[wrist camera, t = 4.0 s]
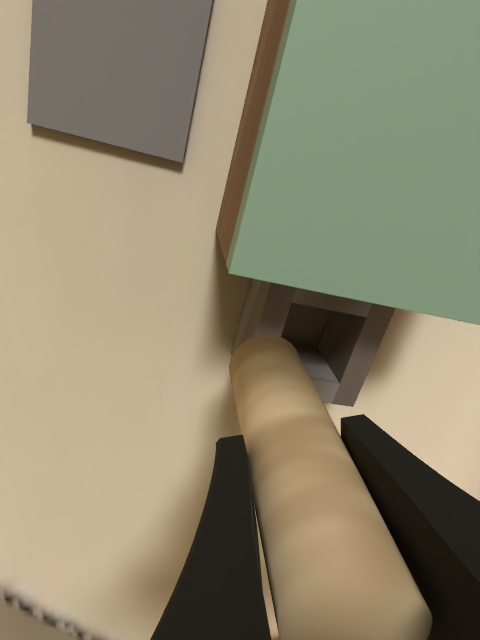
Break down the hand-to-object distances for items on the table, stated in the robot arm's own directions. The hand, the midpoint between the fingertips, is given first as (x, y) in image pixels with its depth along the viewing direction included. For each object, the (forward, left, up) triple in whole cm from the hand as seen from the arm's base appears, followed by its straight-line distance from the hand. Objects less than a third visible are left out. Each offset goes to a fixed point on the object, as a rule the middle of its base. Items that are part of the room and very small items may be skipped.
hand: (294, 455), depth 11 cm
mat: (+7, -9, -11) cm, 16 cm away
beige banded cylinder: (0, 0, -5) cm, 5 cm away
